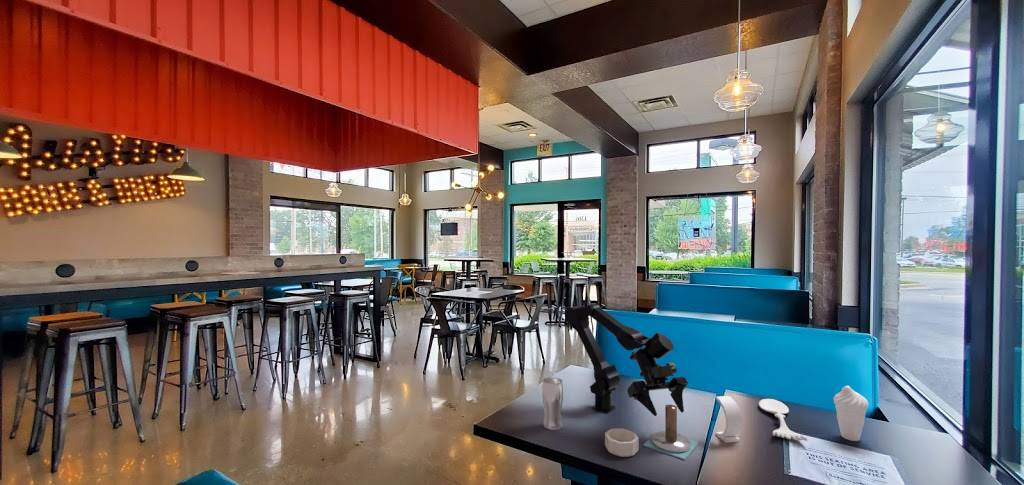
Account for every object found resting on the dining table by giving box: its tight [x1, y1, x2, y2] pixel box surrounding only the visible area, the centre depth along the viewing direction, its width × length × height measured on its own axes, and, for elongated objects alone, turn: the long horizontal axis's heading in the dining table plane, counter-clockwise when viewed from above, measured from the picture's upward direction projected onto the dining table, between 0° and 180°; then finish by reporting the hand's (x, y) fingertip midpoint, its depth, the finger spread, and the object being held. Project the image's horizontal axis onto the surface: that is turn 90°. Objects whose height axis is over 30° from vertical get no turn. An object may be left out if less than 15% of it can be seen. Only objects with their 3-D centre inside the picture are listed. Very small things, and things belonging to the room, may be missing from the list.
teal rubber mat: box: [643, 429, 699, 461], centre depth 122 cm, size 12×12×1 cm
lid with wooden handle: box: [651, 404, 691, 453], centre depth 122 cm, size 11×11×11 cm
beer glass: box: [541, 376, 564, 431], centre depth 134 cm, size 7×7×15 cm
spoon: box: [758, 398, 808, 442], centre depth 135 cm, size 9×32×4 cm, turn 156°
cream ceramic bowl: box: [604, 427, 640, 458], centre depth 119 cm, size 9×9×4 cm
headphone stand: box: [715, 395, 743, 443], centre depth 125 cm, size 5×6×12 cm
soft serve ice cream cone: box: [832, 385, 869, 442], centre depth 125 cm, size 8×8×16 cm
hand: (669, 413), depth 123 cm, fingers open, 9 cm apart
